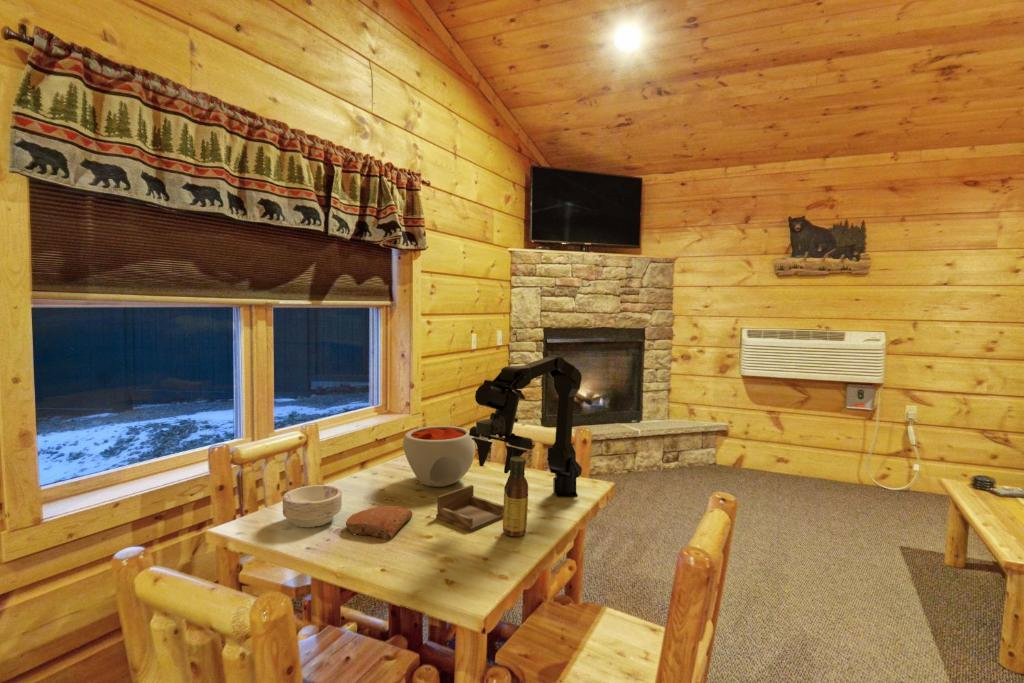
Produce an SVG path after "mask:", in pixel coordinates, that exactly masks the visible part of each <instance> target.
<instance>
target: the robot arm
mask: <svg viewBox="0 0 1024 683" xmlns="http://www.w3.org/2000/svg"><path fill="white" fill-rule="evenodd" d="M546 374H548V375H549V376H550V377H551V378H552V380H553V388H554V390H555V392H556V394H557V408H556V424H555V425H556V426H555V437H554V438H555V439H554V442H553V444H552V446H551V447H548V448H547V459H546V461H547V464H548V467H549V472H550V473H551V474H554V477H553V478H552V481H553V482H552V483H553V484H552V487H553V488H552V490H553V492H554V493H556V494H555V496H556V495H557V496H565V497H578V496H579V494H578V492H577V478H579V477H580V476H581V475H582V470H583V468H582V466H581V465H580V464H579V463H578V461H577V456H576V455H577V454H576V450H575V449H574V446H573V444H572V433H573V420H574V405H575V404H574V403H575V396H576V395H577V394H578V392H579V390H580V388H581V384H582V377H583V375H582V372H580V370H579V369H578V368H576V366H575V365H573V364H571V363H569V362H568V361H566V360H565V358H563V357H561V356H559V355H547V356H545V357H544V358H541V359H538V360H536V361H532V362H530V363H527V364H524V365H509V366H503V368H501V371H500V372H499V373H498V374H497V376H496V377H495V378H494V379H493V380H491V379H490V380H489V379H484V381H483V383H482V384H480V385H479V387H478V388H477V389H476V391H475V394H474V398H475V399H474V400H475V402H476V403H477V404H478V405H479V406H482V407H486V408H489V409H493V410H495V412H491V413H490V415H489V418H485V419H481V420H476V421H475V426H474V425H473V426H472V427H470V429H469V431H470V433H469V436H473V438H472V440H474V443H475V445H476V448H477V454H478V465H479V466H480V467H484V465H485V463H486V461H487V458H488V455H489V453H490V450H491V447H492V445H493V441H491V440H495V441H500V442H504V443H506V444H508V445H505V449H506V453H507V454H506V457H505V463H504V468H503V469H504V470H503V473H504V474H508V473H510V458H511V457H515V456H519V457H522V455H523V454H524V453H527V452H528V450H530V451H531V450H532V449H533V441H532V438H528V437H524V436H520V435H516V434H515V433H513V430H514V426H515V423H518V422H519V421H518V420H519V418H516V416H517V412H518V408H519V402H520V400H525V399H526V398H525V395H524V394H523V392H522V390H523V389H524V388H526V387H527V386H529V385H530V384H531V382H532V381H533V380H534V379H537V378H539V377H541V376H544V375H546ZM557 496H556V497H557Z"/></svg>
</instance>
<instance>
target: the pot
mask: <svg viewBox="0 0 1024 683" xmlns="http://www.w3.org/2000/svg"><path fill="white" fill-rule="evenodd" d="M469 433H470V429H468V428H464V427H460V426H452V425H431V426H425V427H424V426H423V427H419V428H415V429H412V430H409V431H408V432H406V433H405V435H404V437H403V440H402V448H403V452H404V455H405V457H406V460H407V463H408V464H409V467H410V469H411V470H412V472H413V473H414V475H415V477H416V479H418V482H419V483H421V485H422V484H423V485H425V486H428V487H432V488H434V487H435V488H441V487H447V486H450V485H452V484H455V483H456V482H458V481H459V480H462V478H463V477H464V476H465V475H466V474H467V473H468V471H469V470H470V468H471V467H472V464H473V462H474V459H475V454H476V443H475V441H474V440H472V438H474V436H469Z"/></svg>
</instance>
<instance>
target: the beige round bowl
mask: <svg viewBox="0 0 1024 683" xmlns="http://www.w3.org/2000/svg"><path fill="white" fill-rule="evenodd" d="M342 492H343V491H342V490H341V489H340V488H339V487H337V486H334V485H325V484H323V485H322V484H321V485H320V484H317V485H315V484H314V485H307V486H300V487H298V488H293V489H291V490H288V491H287V492H286V493H284V494H283V496H282V515H283V517H285V519H288V520H290V522H292V524H293V525H294V526H296V527H298V526H299V527H298V528H303V527H312V528H316V527H315V526H318V527H321V526H320V525H322V526H324V525H323V524H325V525H327V524H328V523H330V522H331V521H332V520H333V519H334V517H335V516H336V515H337V514H339V513H340V512H341V510H342V506H343V502H342V500H343V497H342V496H343V493H342ZM326 523H327V524H326Z"/></svg>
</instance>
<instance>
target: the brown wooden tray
mask: <svg viewBox="0 0 1024 683" xmlns="http://www.w3.org/2000/svg"><path fill="white" fill-rule="evenodd" d="M436 499H437V502H436V503H437V514H435V518H436V519H437V520H440V521H443V522H444V523H448V524H450V525H453V526H455V527H456V528H460V529H462V530H465V531H467V532H469V533H473V532H475V531H478V530H480V529H482V528H484V527H486V526H489V525H491V524H493V523H495V522H498V521H500V520H503V508H504V504H500V503H497V502H494V501H491V500H488V499H485V498H482V497H479V496H476V495H474V485H473V484H469V485H467V486H464V487H461V488H457V489H455V490H453V491H452V490H451V491H448V492H447V493H443V494H441V495H437V497H436Z"/></svg>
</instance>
